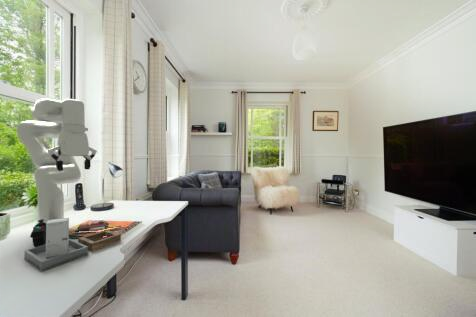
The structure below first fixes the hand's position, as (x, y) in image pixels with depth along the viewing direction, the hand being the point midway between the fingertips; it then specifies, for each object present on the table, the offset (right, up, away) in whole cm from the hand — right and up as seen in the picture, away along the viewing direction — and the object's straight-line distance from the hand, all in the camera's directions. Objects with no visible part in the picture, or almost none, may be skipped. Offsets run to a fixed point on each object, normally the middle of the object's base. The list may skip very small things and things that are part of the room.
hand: (74, 169), depth 90 cm
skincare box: (+4, -30, -13) cm, 33 cm away
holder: (+12, -30, -2) cm, 33 cm away
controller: (-9, -31, -6) cm, 32 cm away
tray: (+4, -31, -14) cm, 34 cm away
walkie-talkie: (+2, -31, +14) cm, 34 cm away
